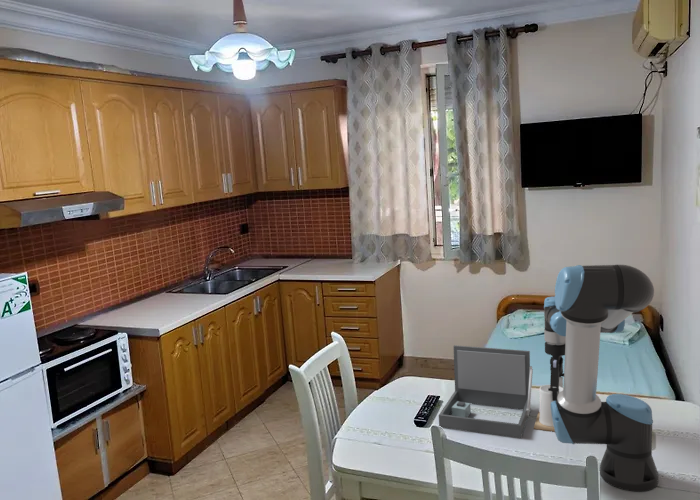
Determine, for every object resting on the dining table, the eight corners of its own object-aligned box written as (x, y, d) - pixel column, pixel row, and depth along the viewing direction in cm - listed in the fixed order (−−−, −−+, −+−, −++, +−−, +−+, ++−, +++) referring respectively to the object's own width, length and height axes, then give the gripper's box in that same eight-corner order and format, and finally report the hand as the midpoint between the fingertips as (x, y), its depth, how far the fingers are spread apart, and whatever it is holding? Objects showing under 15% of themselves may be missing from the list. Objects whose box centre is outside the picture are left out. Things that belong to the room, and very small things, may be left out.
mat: (577, 434, 194) (577, 433, 193) (533, 429, 199) (533, 428, 199) (579, 417, 206) (579, 416, 206) (538, 412, 212) (538, 411, 212)
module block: (465, 420, 210) (464, 407, 209) (451, 417, 213) (451, 405, 212) (470, 413, 215) (470, 401, 214) (457, 411, 218) (457, 399, 217)
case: (524, 438, 193) (523, 373, 190) (439, 427, 205) (436, 365, 202) (533, 410, 215) (532, 351, 211) (456, 401, 227) (454, 345, 223)
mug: (574, 418, 205) (574, 385, 203) (575, 429, 197) (575, 395, 195) (539, 415, 209) (539, 383, 207) (538, 425, 201) (538, 392, 199)
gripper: (565, 353, 186) (565, 417, 188) (570, 333, 208) (571, 390, 211) (540, 351, 189) (541, 414, 191) (548, 332, 211) (549, 388, 214)
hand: (557, 401), depth 201 cm, fingers open, 13 cm apart
